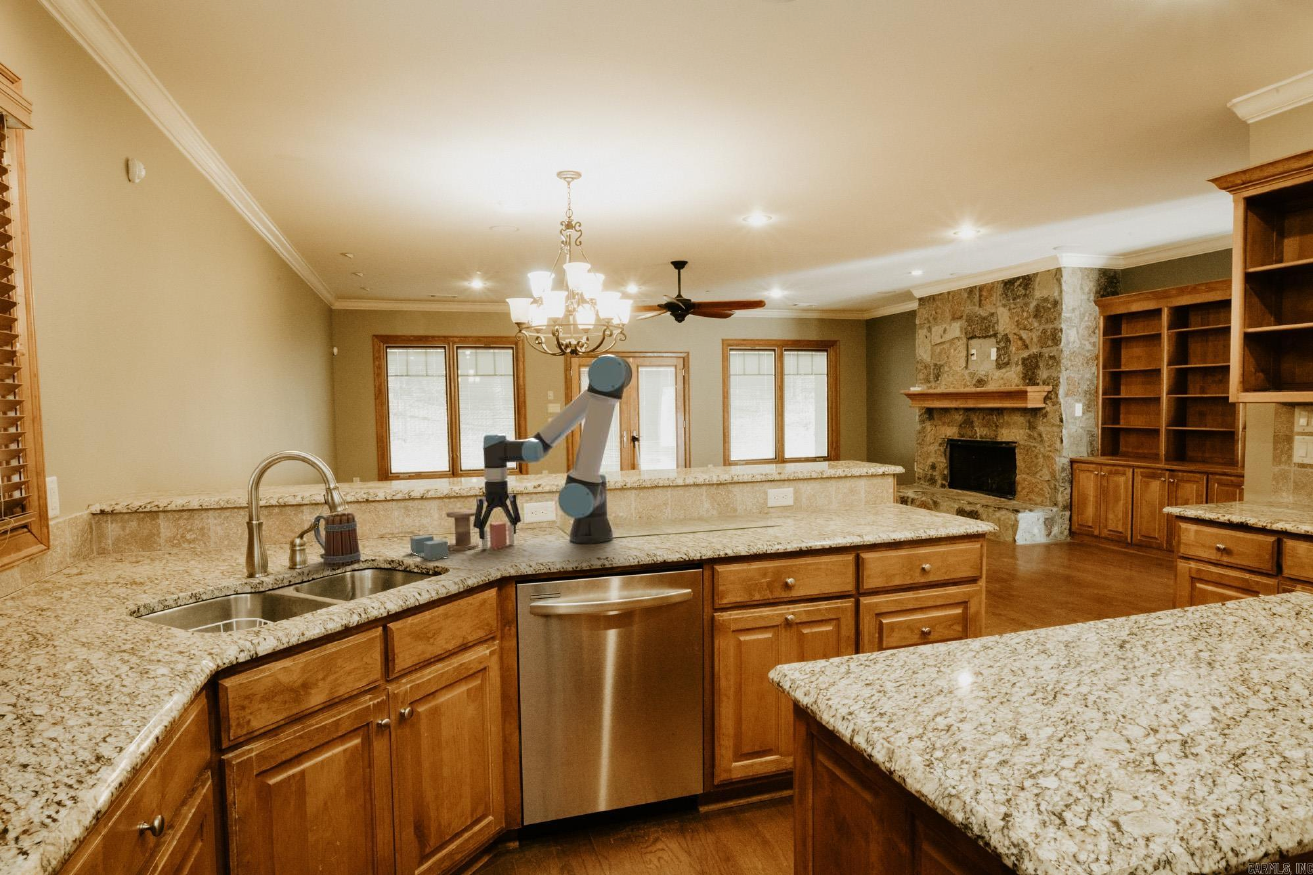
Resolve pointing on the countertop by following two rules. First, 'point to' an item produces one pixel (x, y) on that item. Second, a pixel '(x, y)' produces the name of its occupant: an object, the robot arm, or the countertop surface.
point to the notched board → (429, 547)
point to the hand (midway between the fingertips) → (498, 546)
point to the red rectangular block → (498, 535)
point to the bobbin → (462, 530)
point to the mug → (338, 539)
